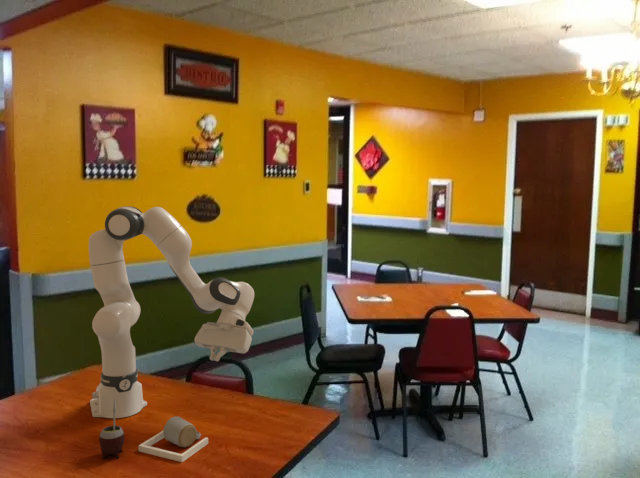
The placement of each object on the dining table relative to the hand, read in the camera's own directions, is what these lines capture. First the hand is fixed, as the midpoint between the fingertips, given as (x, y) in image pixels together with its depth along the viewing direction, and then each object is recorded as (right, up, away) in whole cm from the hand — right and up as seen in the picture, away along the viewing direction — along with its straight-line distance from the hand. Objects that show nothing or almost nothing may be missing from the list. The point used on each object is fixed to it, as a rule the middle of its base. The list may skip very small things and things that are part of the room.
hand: (213, 360), depth 194 cm
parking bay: (-9, -23, -17) cm, 30 cm away
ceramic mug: (-7, -23, -14) cm, 28 cm away
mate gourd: (-26, -24, -22) cm, 41 cm away
